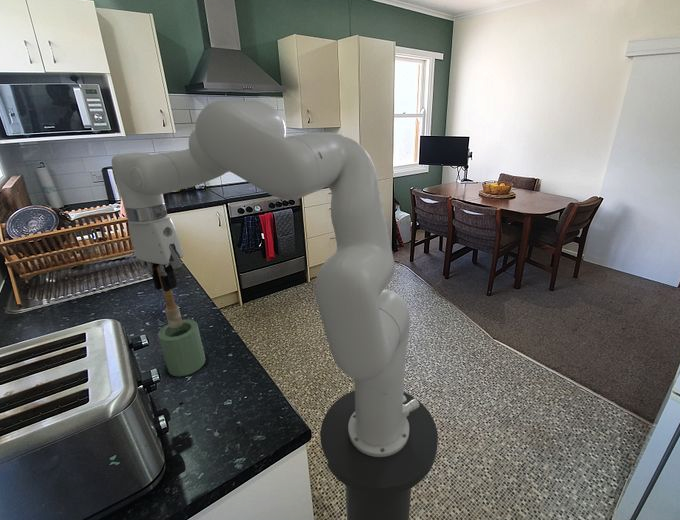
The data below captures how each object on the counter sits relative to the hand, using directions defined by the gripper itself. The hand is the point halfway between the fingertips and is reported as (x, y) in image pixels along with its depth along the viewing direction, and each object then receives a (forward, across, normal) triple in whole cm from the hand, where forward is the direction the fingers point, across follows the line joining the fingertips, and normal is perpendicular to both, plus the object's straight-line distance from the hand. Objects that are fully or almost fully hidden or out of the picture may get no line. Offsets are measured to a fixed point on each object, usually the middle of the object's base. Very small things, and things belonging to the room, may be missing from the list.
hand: (166, 287), depth 82 cm
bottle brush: (+11, 0, 0) cm, 11 cm away
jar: (+23, 0, 0) cm, 23 cm away
